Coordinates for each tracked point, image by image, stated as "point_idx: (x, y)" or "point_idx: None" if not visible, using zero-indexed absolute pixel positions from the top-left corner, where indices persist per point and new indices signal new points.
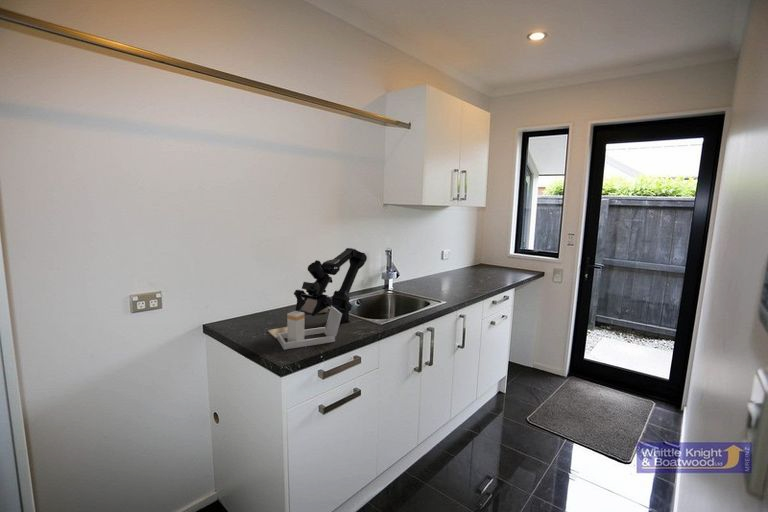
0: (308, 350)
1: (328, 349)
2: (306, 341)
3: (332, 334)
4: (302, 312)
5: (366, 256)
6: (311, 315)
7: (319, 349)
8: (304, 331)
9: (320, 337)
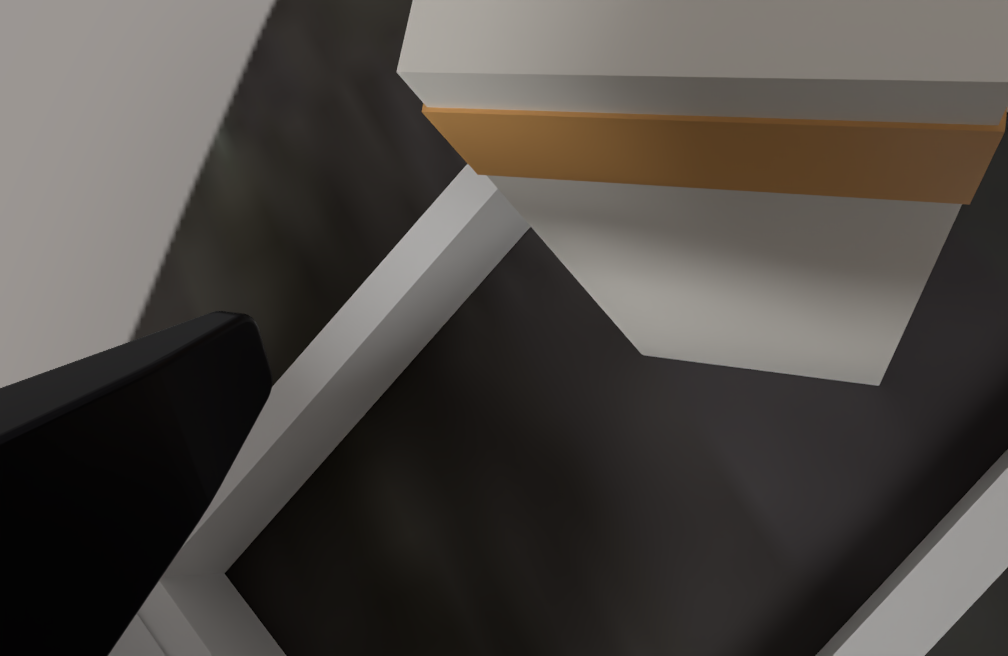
0: (397, 93)
1: (170, 259)
2: (473, 171)
3: (168, 642)
4: (483, 40)
5: None
6: (254, 324)
7: (276, 199)
8: (834, 652)
9: (306, 402)
